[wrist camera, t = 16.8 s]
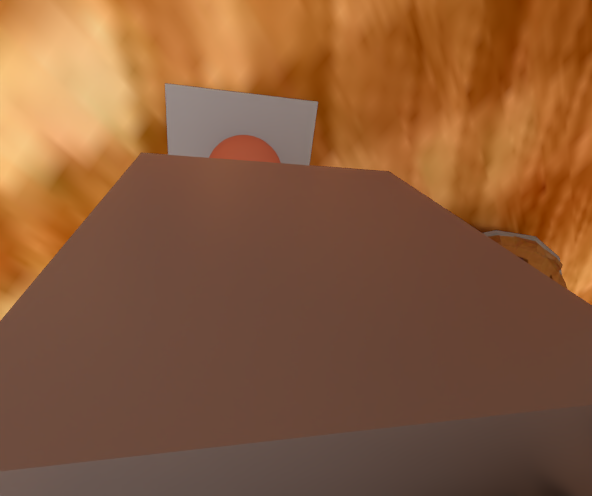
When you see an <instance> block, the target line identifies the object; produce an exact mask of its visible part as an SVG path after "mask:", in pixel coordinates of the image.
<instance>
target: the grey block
mask: <svg viewBox="0 0 592 496" xmlns="http://www.w3.org/2000/svg"><path fill="white" fill-rule="evenodd" d="M0 496H592V305H590V304H589V303H587V302H586V301H584V300H583V299H581V298H580V297H578V296H577V295H575V294H574V293H572V292H571V291H569V290H568V289H566V288H564V287H563V286H561V285H560V284H558V283H557V282H555V281H554V280H552V279H551V278H549V277H548V276H546V275H545V274H543V273H542V272H540V271H539V270H537V269H536V268H534V267H533V266H531V265H530V264H528V263H527V262H525V261H524V260H522V259H521V258H519V257H518V256H516V255H515V254H513V253H512V252H510V251H509V250H507V249H506V248H504V247H502V246H501V245H499V244H498V243H496V242H495V241H493V240H492V239H490V238H489V237H487V236H486V235H484V234H483V233H481V232H480V231H478V230H477V229H475V228H474V227H472V226H471V225H469V224H468V223H466V222H465V221H463V220H462V219H460V218H459V217H457V216H456V215H454V214H453V213H451V212H450V211H448V210H447V209H445V208H444V207H442V206H441V205H439V204H437V203H436V202H434V201H433V200H431V199H430V198H428V197H427V196H425V195H424V194H422V193H421V192H419V191H418V190H416V189H415V188H413V187H412V186H410V185H409V184H407V183H406V182H404V181H403V180H401V179H400V178H398V177H397V176H395V175H394V174H392V173H391V172H389V171H378V170H364V169H351V168H338V167H324V166H311V165H298V164H285V163H271V162H258V161H245V160H232V159H218V158H205V157H192V156H179V155H165V154H152V153H141V154H140V155H139V156H138V157H137V159H136V160H135V161H134V162H133V163H132V164H131V166H130V167H129V168H128V169H127V170H126V172H125V173H124V174H123V175H122V176H121V178H120V179H119V180H118V181H117V182H116V184H115V185H114V186H113V187H112V188H111V190H110V191H109V192H108V193H107V194H106V196H105V197H104V198H103V199H102V200H101V201H100V203H99V204H98V205H97V206H96V207H95V209H94V210H93V211H92V212H91V213H90V215H89V216H88V217H87V218H86V219H85V221H84V222H83V223H82V224H81V225H80V227H79V228H78V229H77V230H76V231H75V233H74V234H73V235H72V236H71V237H70V239H69V240H68V241H67V242H66V243H65V244H64V246H63V247H62V248H61V249H60V250H59V252H58V253H57V254H56V255H55V256H54V258H53V259H52V260H51V261H50V262H49V264H48V265H47V266H46V267H45V268H44V270H43V271H42V272H41V273H40V274H39V276H38V277H37V278H36V279H35V280H34V282H33V283H32V284H31V285H30V286H29V287H28V289H27V290H26V291H25V292H24V293H23V295H22V296H21V297H20V298H19V299H18V301H17V302H16V303H15V304H14V305H13V307H12V308H11V309H10V310H9V311H8V313H7V314H6V315H5V316H4V317H3V319H2V320H1V321H0Z"/></svg>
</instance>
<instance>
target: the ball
mask: <svg viewBox="0 0 592 496" xmlns="http://www.w3.org/2000/svg"><path fill="white" fill-rule="evenodd" d="M209 158H218V159H232V160H245V161H258V162H271V163H281V162H280V160H279V157H278V155H277V154H276V152H275V151H274V150H273V148H272V147H271V146H270V145H269V144H267V143H266V142H265V141H263V140H261V139H260V138H257V137H254V136H250V135H236V136H232V137H229V138H227V139H225V140H223V141H222V142H221V143H219V144H218V145H217V146H216V147H215V148H214V150H213V151H212V153H211V155H210V156H209Z"/></svg>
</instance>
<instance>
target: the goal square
mask: <svg viewBox="0 0 592 496" xmlns="http://www.w3.org/2000/svg"><path fill="white" fill-rule="evenodd" d="M165 95H166V116H167V138H168V155H179V156H192V157H205V158H209V156H210V155H211V153H212V151H213V150H214V148H215V147H216V146H217V145H218V144H219V143H221V142H222V141H223V140H225V139H227V138H229V137H232V136H236V135H250V136H254V137H257V138H260V139H261V140H263V141H265V142H266V143H267V144H269V145H270V146H271V147H272V148H273V150H274V151H275V152H276V154H277V155H278V157H279V160H280V162H281V163H285V164H298V165H309V164H310V157H311V149H312V142H313V135H314V128H315V121H316V114H317V106H318V102H316V101H308V100H300V99H291V98H283V97H275V96H267V95H258V94H250V93H242V92H233V91H225V90H217V89H208V88H200V87H192V86H184V85H175V84H167V83H165Z"/></svg>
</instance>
